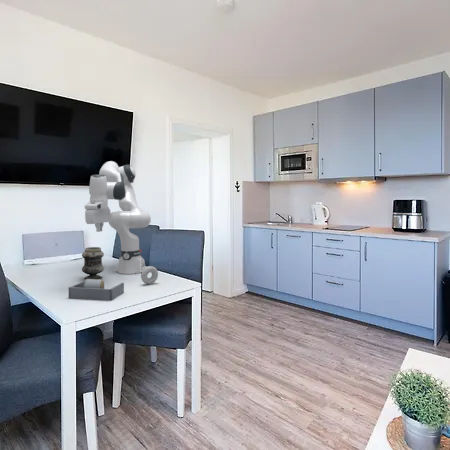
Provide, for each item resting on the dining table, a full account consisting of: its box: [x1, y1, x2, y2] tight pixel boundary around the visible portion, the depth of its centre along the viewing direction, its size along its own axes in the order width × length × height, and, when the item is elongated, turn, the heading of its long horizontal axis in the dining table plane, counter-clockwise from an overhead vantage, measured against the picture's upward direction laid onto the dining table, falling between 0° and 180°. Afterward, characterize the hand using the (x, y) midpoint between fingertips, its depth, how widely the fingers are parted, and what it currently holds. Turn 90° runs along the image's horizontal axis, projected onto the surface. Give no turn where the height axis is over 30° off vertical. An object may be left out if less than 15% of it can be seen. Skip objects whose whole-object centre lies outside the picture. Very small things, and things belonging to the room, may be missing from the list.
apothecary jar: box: [81, 246, 105, 281], centre depth 189 cm, size 12×12×18 cm
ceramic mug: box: [84, 279, 105, 289], centre depth 159 cm, size 11×8×8 cm
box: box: [68, 280, 125, 301], centre depth 156 cm, size 13×21×5 cm, turn 82°
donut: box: [140, 265, 159, 285], centre depth 178 cm, size 10×4×10 cm, turn 132°
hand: (99, 231), depth 172 cm, fingers closed
